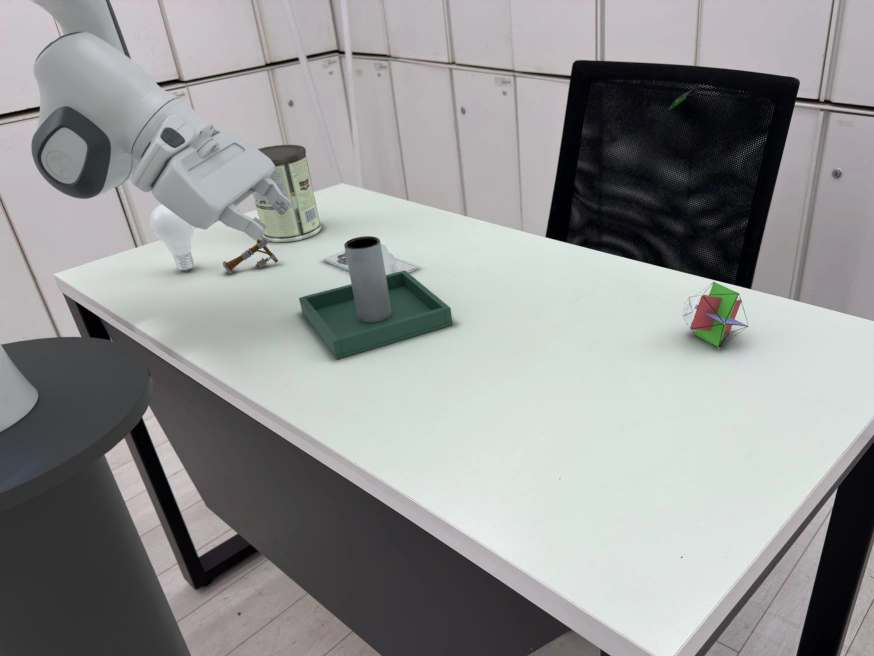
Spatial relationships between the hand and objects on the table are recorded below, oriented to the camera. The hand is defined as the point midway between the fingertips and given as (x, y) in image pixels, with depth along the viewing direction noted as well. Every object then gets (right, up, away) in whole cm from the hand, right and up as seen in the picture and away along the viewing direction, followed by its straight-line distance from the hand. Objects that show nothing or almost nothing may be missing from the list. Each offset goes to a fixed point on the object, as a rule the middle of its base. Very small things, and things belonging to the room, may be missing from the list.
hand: (275, 221), depth 93 cm
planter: (+11, -11, +6) cm, 17 cm away
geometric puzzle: (+54, -15, -4) cm, 56 cm away
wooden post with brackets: (-12, -2, +26) cm, 28 cm away
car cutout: (+7, -2, +23) cm, 25 cm away
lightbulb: (-23, -2, +27) cm, 35 cm away
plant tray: (+11, -12, +7) cm, 17 cm away
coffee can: (-10, +6, +39) cm, 41 cm away
